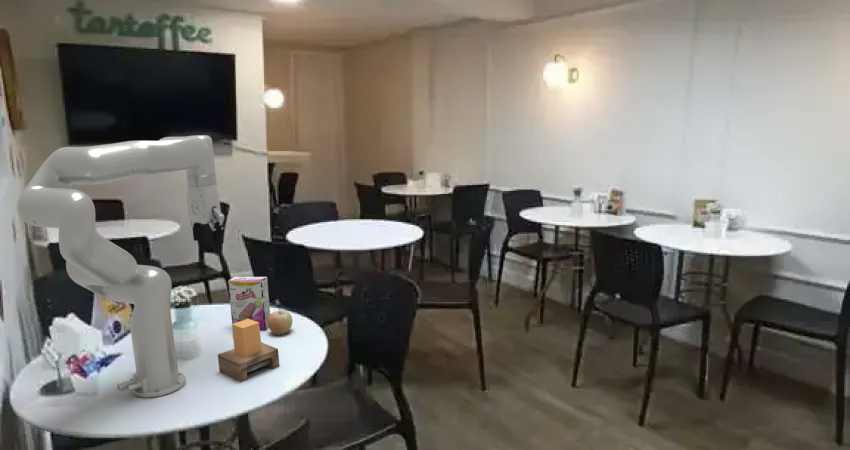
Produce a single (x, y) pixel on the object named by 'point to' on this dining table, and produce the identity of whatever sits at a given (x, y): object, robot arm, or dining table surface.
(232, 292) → the candy bar box
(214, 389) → the dining table surface
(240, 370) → the shelf
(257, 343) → the upright orange cuboid
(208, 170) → the robot arm
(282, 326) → the fruit
